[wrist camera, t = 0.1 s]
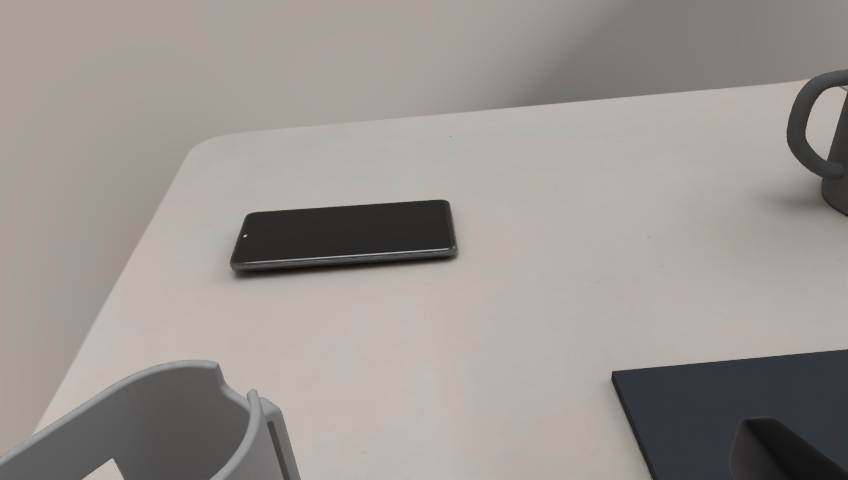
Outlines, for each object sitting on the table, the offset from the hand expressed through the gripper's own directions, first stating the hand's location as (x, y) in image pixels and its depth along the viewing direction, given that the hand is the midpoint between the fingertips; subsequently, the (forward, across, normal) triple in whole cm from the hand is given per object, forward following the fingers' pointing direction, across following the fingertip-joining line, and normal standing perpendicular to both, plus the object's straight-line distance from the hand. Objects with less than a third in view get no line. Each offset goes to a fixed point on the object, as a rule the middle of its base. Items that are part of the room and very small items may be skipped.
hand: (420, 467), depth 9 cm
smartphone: (+35, +5, +18) cm, 40 cm away
